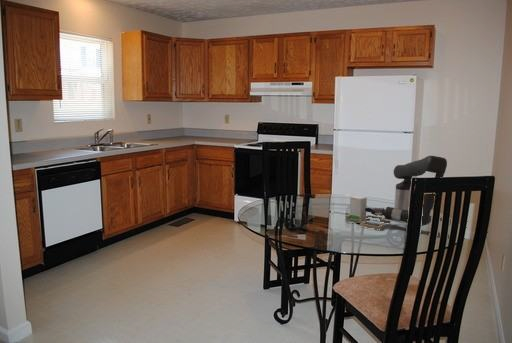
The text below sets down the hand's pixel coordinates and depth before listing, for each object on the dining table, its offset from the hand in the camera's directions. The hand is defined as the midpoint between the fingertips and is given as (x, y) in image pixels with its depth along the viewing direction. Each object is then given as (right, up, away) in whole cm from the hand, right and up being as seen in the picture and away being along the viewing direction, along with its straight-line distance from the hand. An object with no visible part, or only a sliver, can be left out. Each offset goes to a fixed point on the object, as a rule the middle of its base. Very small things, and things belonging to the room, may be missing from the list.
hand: (366, 209), depth 252 cm
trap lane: (+2, -8, -1) cm, 9 cm away
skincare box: (-4, -8, +3) cm, 9 cm away
